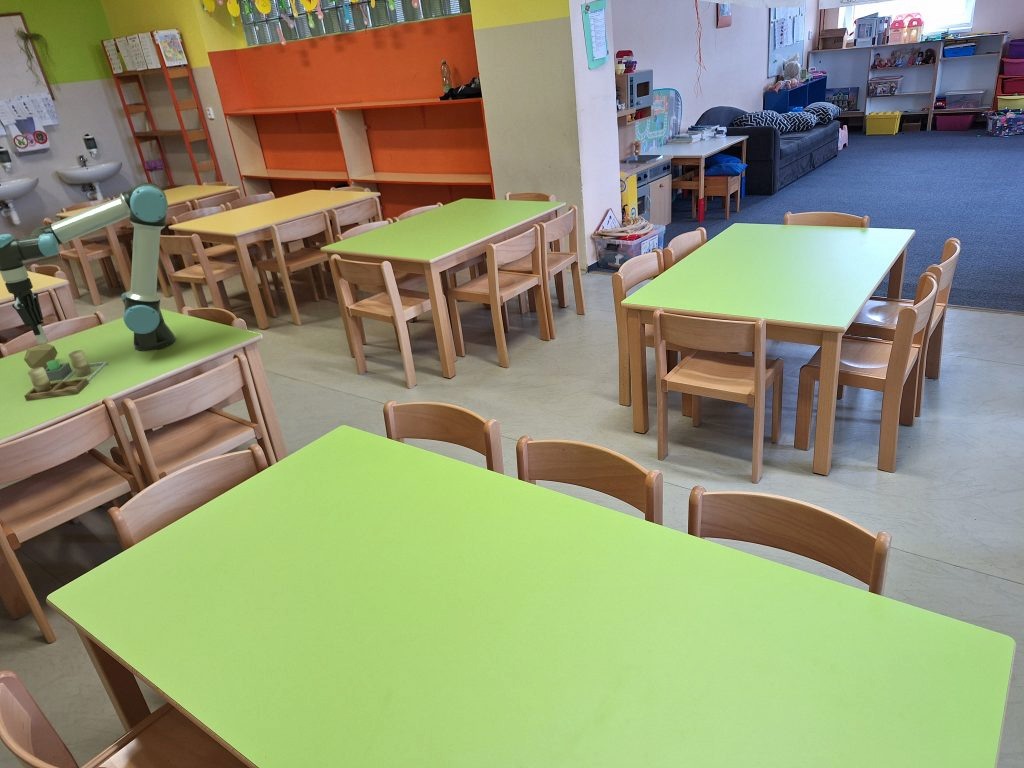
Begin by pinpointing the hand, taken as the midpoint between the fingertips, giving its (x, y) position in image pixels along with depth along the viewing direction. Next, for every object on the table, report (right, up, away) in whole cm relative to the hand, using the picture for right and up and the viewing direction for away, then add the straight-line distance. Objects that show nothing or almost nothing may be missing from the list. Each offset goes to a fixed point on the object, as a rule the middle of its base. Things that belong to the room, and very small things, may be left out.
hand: (43, 342), depth 259 cm
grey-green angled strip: (+12, -12, +6) cm, 18 cm away
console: (+2, -13, +7) cm, 15 cm away
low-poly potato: (-10, -9, +19) cm, 23 cm away
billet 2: (+12, -12, +6) cm, 18 cm away
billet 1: (+6, -19, -7) cm, 21 cm away
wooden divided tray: (+10, -19, -7) cm, 22 cm away
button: (+2, -12, +6) cm, 13 cm away
